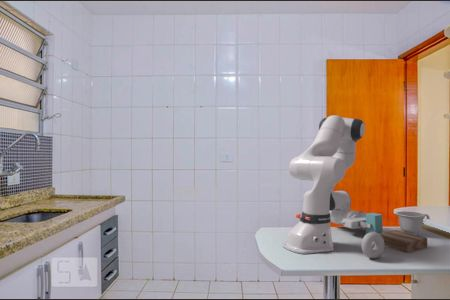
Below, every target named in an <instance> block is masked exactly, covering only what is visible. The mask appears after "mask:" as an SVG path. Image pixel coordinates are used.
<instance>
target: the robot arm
mask: <svg viewBox="0 0 450 300" xmlns="http://www.w3.org/2000/svg"><path fill="white" fill-rule="evenodd" d="M365 132H366V125H365V122H364V121H363V120H362V119H359V118H350V117H344V116H343V117H341V116H339V115H336V114H335V115H334V114H333V115H329V116H328V117H324V118H322V119H321V120H320V122H319V124H318V131H317V133H316V136H315V138H314V140H313V141H312V143H311V144H310V146H308V148H307V149H305V151H303V152H302V153H301V154H299V155H297V156H296V157H293V158H291V160H290V162H289V165H288V171H289V174H290V175H291V177H292V178H295V179H298V180H301V181H313V186H312V188H311V189H308V190H307V191H305V192H304V193H303V196H302V205H303V206H302V212H301V213H299V212H297V213H295V218H297V219H299V221H298V223H296V224H295V226H293V227H291V229H290V230H289V231H288V232H287V233H288V235H287V241H283V242H282V243H281V245H282V247H283V248H284V249H286V250H288V251H290V252H293V253H295V254H301V255H307V254H314V253H315V254H316V253H325V252H334V250H335V249H334V248H335V245H334V241H333V238H332V229H331V223H333V224H336V225H342V226H343V227H345V228H348V229H353V230H354V229H361V228H366V227H368V228H371V227H372V224H370V223H366V214H367V212H366V211H360V210H359V211H357V210H351V207H352V206H351V205H352V198H351V196H350V194H349V193H348V192H347V191H346V190H334V189H335V186H336V185H337V184H338V183H339V182H340V181H341V180H343V178H344V177H345V176H346V172H347V170H348V169H350V168H351V167H352V166H353V165H354V163H355V159H356V151H357V147H356V146H357V145H356V144H357V141H359V140H361V139H362V138H363V137H364V135H365Z"/></svg>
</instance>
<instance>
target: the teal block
mask: <svg viewBox="0 0 450 300" xmlns="http://www.w3.org/2000/svg"><path fill="white" fill-rule="evenodd" d="M366 223H370V224H372V227H371V228H368V227H365V235H366V234H367V233H370V232H376V233H378V234H379V233H384V232H383V214H381V213H375V212H369V213H366Z"/></svg>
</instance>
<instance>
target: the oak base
mask: <svg viewBox="0 0 450 300" xmlns="http://www.w3.org/2000/svg"><path fill="white" fill-rule="evenodd" d="M379 234H380V235H381V236H382V237H383V240H384V244H385V246H384V247H387V248H389V249H390V248H391V249H393V250H396V251H400V252H403V253H411V252H412V253H413V252H415V251H419V250H423V249H427V248H428V237H424V236H420V235H413V234H409V233H405V232H404V231H400V230H390V231H385V232H383V233H379Z"/></svg>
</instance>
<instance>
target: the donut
mask: <svg viewBox="0 0 450 300" xmlns="http://www.w3.org/2000/svg"><path fill="white" fill-rule="evenodd" d="M373 242H374V247H373V248H372V244H373ZM385 247H386V246H385V244H384V240H383V237H382V236H381V235H380V234H378V233H376V232H370V233H367V234H366V233H365V235H364V236H363V238H362V240H361V250H362V252H363V254H364V255H365V256H366V257H367V258H369V259H376V258H377V259H378V258H379V257H380V256H381V255H382V254H383V252H384V250H385Z"/></svg>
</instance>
